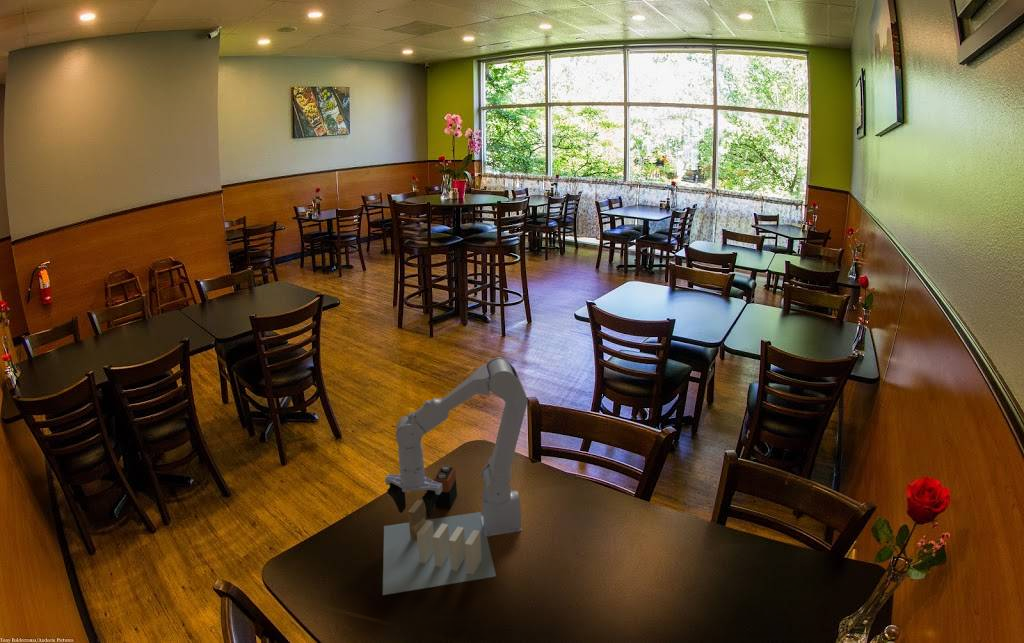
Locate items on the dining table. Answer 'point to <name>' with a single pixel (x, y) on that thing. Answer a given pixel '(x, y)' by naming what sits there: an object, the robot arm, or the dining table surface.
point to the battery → (446, 487)
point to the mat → (412, 575)
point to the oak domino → (416, 518)
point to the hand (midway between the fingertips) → (416, 513)
